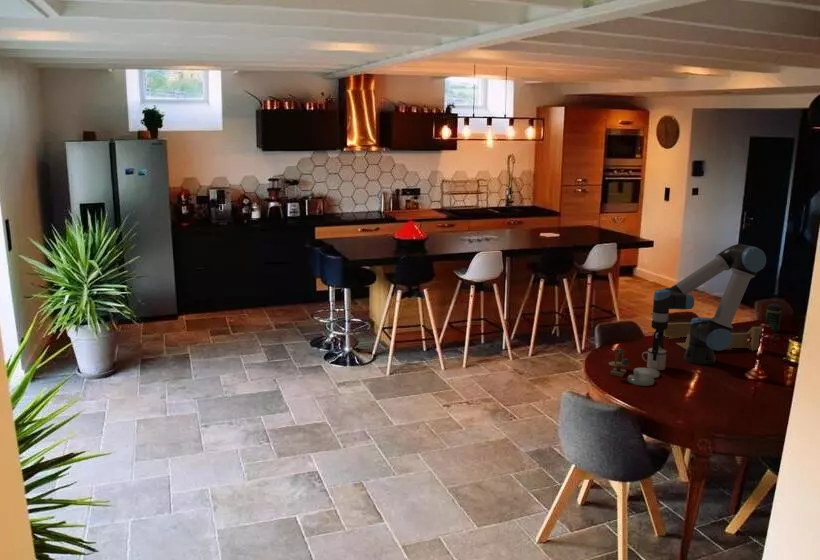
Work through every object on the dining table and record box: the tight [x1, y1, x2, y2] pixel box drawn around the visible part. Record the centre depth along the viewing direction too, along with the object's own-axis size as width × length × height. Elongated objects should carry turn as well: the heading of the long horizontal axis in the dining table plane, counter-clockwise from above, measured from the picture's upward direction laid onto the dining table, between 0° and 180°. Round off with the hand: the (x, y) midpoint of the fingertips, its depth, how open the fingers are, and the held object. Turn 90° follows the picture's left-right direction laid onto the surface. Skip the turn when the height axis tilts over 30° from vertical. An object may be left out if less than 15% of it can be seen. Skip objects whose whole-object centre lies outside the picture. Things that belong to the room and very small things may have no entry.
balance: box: [608, 348, 630, 378], centre depth 335 cm, size 21×6×14 cm, turn 150°
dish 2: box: [627, 374, 655, 387], centre depth 324 cm, size 12×12×2 cm
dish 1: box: [633, 367, 661, 379], centre depth 336 cm, size 12×12×2 cm
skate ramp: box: [663, 318, 764, 353], centre depth 390 cm, size 40×35×16 cm
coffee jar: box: [764, 302, 783, 333], centre depth 418 cm, size 10×8×19 cm
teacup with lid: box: [641, 346, 668, 371], centre depth 347 cm, size 12×9×12 cm
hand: (656, 363), depth 346 cm, fingers closed on teacup with lid, 9 cm apart
